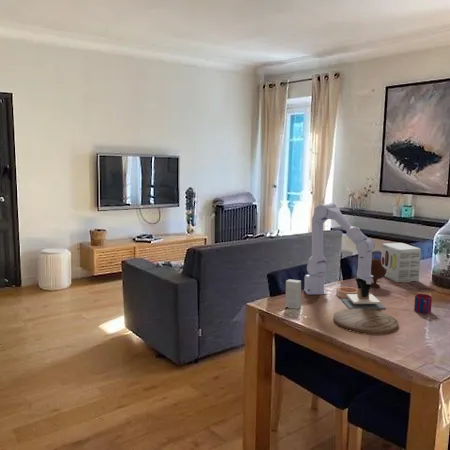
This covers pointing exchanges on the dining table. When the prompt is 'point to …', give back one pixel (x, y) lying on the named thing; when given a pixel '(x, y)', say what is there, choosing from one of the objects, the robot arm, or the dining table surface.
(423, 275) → the dining table surface
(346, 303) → the mat
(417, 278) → the supplement box
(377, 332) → the trivet
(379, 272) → the ice cream bowl
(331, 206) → the robot arm
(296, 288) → the skincare box
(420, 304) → the mug
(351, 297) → the cover
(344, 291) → the bowl
